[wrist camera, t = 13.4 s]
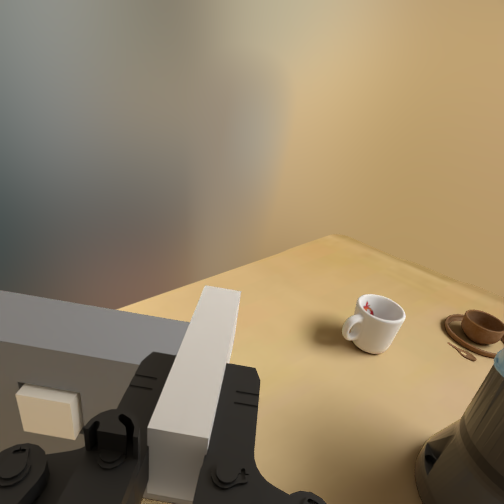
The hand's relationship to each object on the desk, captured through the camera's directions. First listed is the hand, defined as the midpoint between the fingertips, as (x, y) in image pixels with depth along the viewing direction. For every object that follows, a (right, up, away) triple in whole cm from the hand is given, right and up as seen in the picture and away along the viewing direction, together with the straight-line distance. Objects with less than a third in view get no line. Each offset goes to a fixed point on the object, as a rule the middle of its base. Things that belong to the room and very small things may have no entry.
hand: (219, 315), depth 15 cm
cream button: (-16, -12, +18) cm, 27 cm away
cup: (+21, -14, +47) cm, 53 cm away
